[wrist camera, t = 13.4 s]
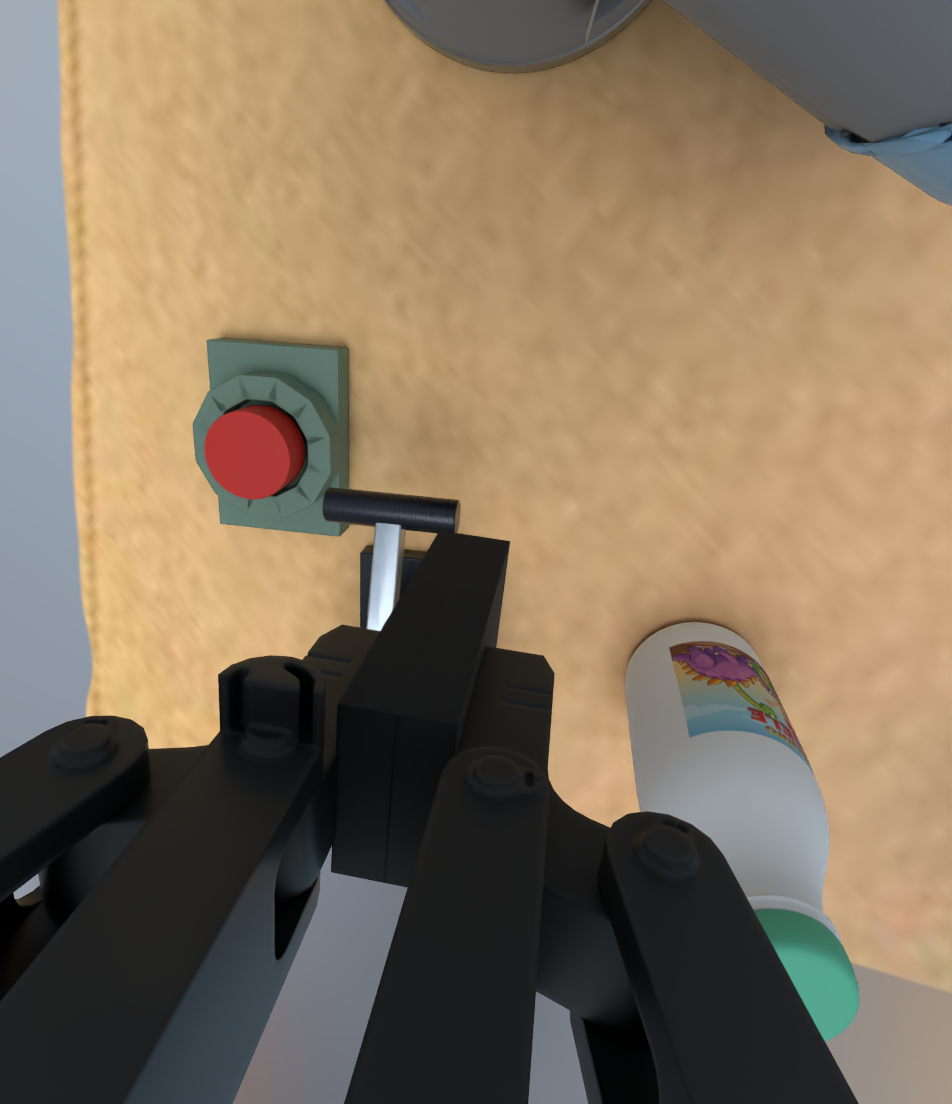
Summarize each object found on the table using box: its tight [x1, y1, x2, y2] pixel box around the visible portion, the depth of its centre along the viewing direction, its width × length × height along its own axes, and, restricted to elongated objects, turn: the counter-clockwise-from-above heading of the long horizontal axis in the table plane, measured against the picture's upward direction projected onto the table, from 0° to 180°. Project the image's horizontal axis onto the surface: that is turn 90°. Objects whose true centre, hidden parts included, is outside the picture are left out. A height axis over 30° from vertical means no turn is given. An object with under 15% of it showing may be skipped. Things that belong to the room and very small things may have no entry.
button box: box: [193, 338, 349, 536], centre depth 37 cm, size 10×7×4 cm
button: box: [204, 405, 305, 499], centre depth 35 cm, size 4×4×2 cm
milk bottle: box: [625, 622, 859, 1041], centre depth 31 cm, size 8×8×20 cm
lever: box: [323, 487, 460, 631], centre depth 29 cm, size 13×6×2 cm, turn 177°
